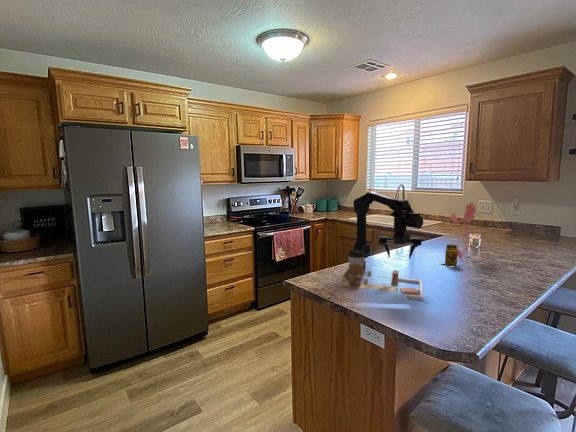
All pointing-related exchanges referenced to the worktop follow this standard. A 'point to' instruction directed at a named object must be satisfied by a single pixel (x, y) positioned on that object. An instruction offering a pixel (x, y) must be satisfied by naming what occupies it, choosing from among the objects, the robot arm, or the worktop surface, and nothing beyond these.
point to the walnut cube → (354, 280)
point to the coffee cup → (356, 262)
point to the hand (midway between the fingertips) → (399, 258)
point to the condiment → (451, 255)
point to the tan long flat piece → (372, 286)
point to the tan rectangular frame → (394, 276)
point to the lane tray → (402, 287)
